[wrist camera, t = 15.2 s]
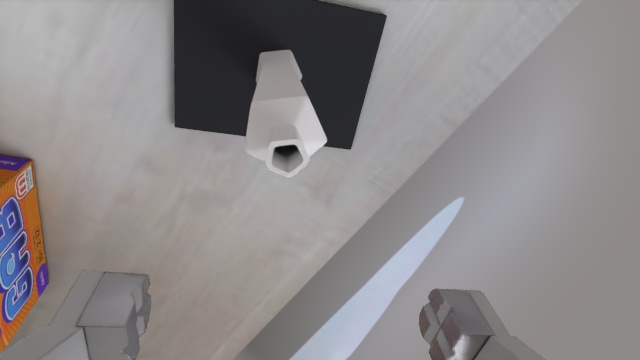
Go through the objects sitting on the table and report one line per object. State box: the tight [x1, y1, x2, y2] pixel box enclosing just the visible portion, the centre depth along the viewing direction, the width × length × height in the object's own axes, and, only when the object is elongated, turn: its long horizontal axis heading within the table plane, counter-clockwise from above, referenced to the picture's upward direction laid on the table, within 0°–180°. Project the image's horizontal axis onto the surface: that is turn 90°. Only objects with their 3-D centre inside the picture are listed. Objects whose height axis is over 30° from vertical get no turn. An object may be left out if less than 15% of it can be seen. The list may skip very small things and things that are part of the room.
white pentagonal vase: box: [244, 50, 327, 178], centre depth 24 cm, size 5×4×15 cm
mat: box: [174, 0, 387, 149], centre depth 30 cm, size 16×12×1 cm
